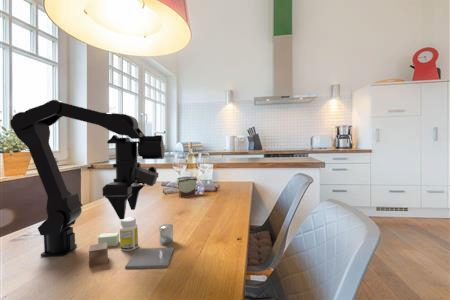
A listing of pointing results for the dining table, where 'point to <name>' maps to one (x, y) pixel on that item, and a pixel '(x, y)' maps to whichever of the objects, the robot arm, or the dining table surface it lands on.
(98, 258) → the walnut block
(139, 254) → the coaster
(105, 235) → the sage box
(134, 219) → the supplement bottle
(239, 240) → the dining table surface
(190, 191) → the food container
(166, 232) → the metal shaker
